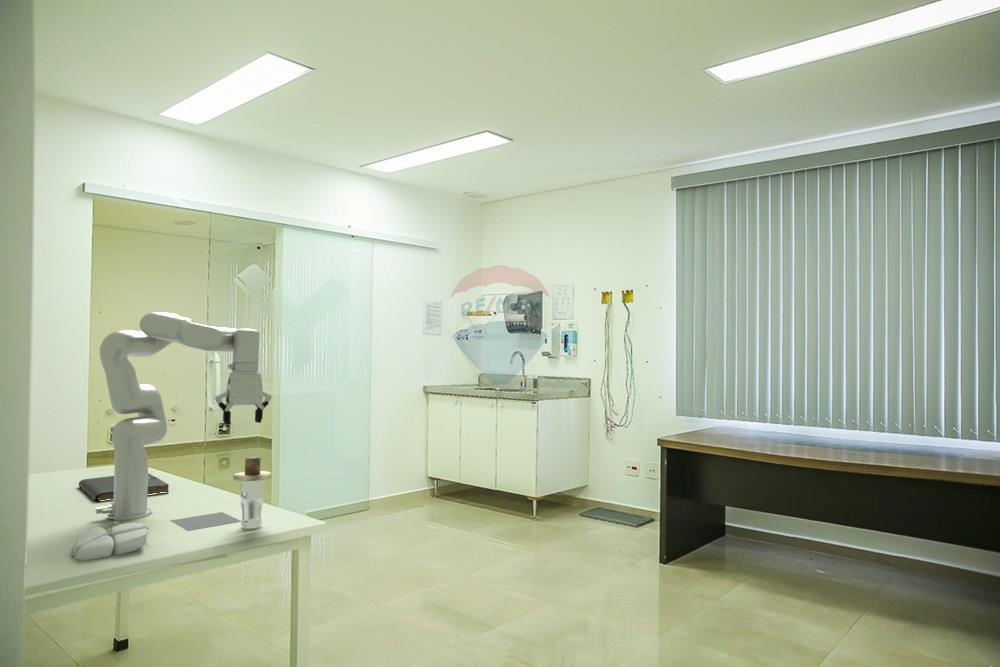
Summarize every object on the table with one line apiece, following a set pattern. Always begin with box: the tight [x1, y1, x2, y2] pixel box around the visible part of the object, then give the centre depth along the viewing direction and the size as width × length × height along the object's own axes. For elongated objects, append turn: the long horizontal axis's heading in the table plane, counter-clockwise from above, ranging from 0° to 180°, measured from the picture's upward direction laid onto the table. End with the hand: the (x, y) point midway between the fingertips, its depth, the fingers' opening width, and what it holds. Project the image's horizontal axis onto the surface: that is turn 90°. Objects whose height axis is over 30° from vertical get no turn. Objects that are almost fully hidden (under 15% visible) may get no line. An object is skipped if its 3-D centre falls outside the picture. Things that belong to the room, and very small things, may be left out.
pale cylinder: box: [239, 480, 265, 529], centre depth 195 cm, size 7×7×15 cm
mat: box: [170, 511, 242, 532], centre depth 199 cm, size 16×16×1 cm
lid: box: [232, 456, 272, 482], centre depth 195 cm, size 11×11×6 cm
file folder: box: [78, 472, 170, 501], centre depth 244 cm, size 33×4×24 cm
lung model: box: [71, 522, 149, 561], centre depth 175 cm, size 7×17×25 cm
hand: (242, 423), depth 199 cm, fingers open, 9 cm apart
